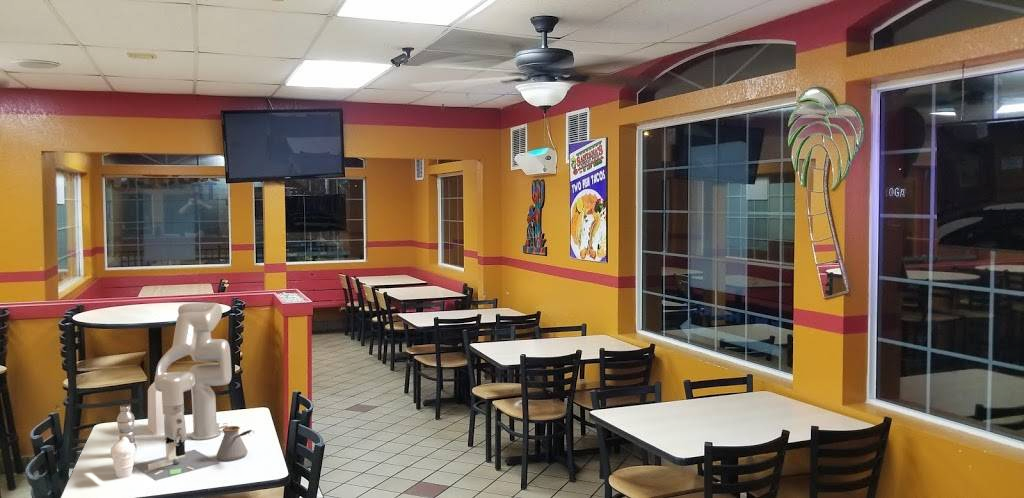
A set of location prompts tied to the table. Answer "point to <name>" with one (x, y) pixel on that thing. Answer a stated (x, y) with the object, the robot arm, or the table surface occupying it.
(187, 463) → the plate
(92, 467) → the table surface
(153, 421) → the milk
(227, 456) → the coffee pot
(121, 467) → the soft serve ice cream cone
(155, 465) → the peg head
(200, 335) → the robot arm
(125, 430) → the plastic bottle
